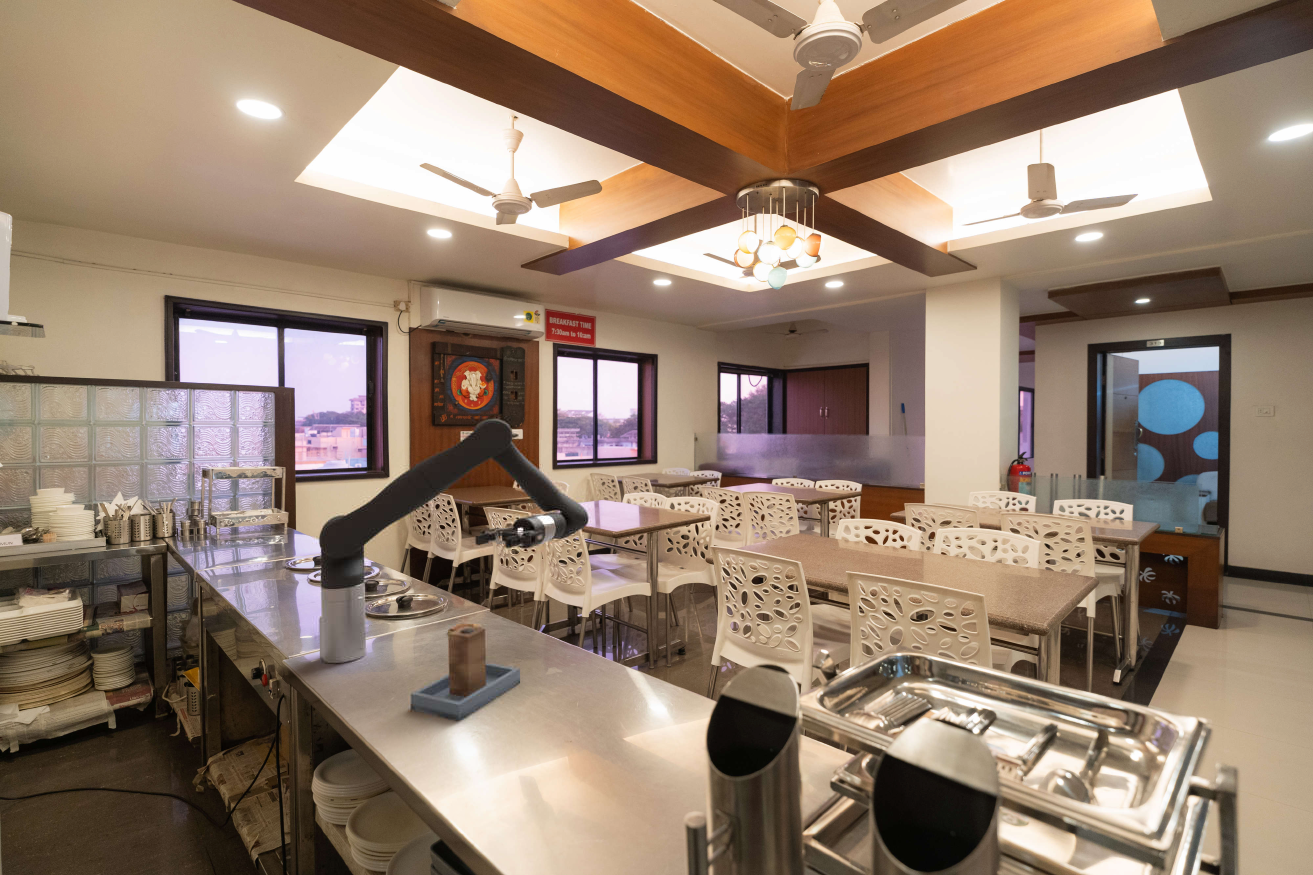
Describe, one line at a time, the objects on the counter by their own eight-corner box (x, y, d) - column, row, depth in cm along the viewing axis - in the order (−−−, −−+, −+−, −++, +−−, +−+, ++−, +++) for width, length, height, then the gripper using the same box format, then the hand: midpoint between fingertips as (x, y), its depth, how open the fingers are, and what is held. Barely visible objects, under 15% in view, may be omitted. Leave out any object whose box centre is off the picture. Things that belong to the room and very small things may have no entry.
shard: (461, 644, 152) (461, 637, 152) (434, 643, 154) (434, 635, 154) (482, 630, 163) (482, 623, 163) (456, 628, 164) (456, 622, 164)
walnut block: (449, 693, 121) (448, 632, 121) (466, 683, 125) (465, 625, 125) (469, 697, 119) (468, 636, 118) (486, 687, 123) (485, 628, 123)
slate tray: (411, 709, 116) (410, 693, 116) (475, 673, 133) (475, 660, 133) (459, 720, 111) (459, 704, 111) (520, 682, 128) (519, 668, 128)
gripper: (510, 514, 155) (466, 523, 141) (557, 517, 149) (516, 527, 135) (511, 543, 155) (467, 555, 141) (558, 547, 150) (517, 560, 135)
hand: (491, 541), depth 138 cm, fingers open, 8 cm apart
